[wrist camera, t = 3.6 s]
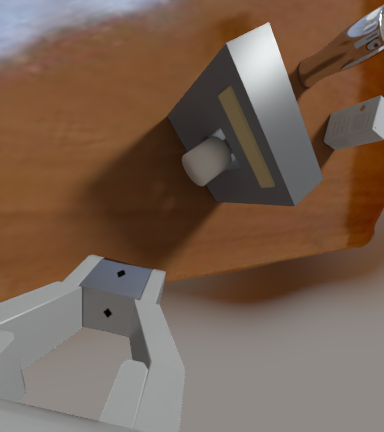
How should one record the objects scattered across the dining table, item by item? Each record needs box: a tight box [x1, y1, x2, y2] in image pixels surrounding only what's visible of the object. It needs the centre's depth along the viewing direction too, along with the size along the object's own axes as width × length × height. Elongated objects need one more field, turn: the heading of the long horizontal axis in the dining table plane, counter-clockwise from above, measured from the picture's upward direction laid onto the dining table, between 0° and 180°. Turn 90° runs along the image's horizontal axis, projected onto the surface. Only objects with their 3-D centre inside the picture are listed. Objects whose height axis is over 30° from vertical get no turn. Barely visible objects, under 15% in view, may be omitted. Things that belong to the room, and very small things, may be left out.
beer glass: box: [298, 4, 384, 88], centre depth 40 cm, size 7×7×15 cm
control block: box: [167, 23, 323, 206], centre depth 29 cm, size 6×18×18 cm, turn 35°
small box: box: [324, 96, 384, 150], centre depth 48 cm, size 8×6×10 cm
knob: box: [182, 136, 233, 186], centre depth 29 cm, size 11×5×5 cm, turn 125°
